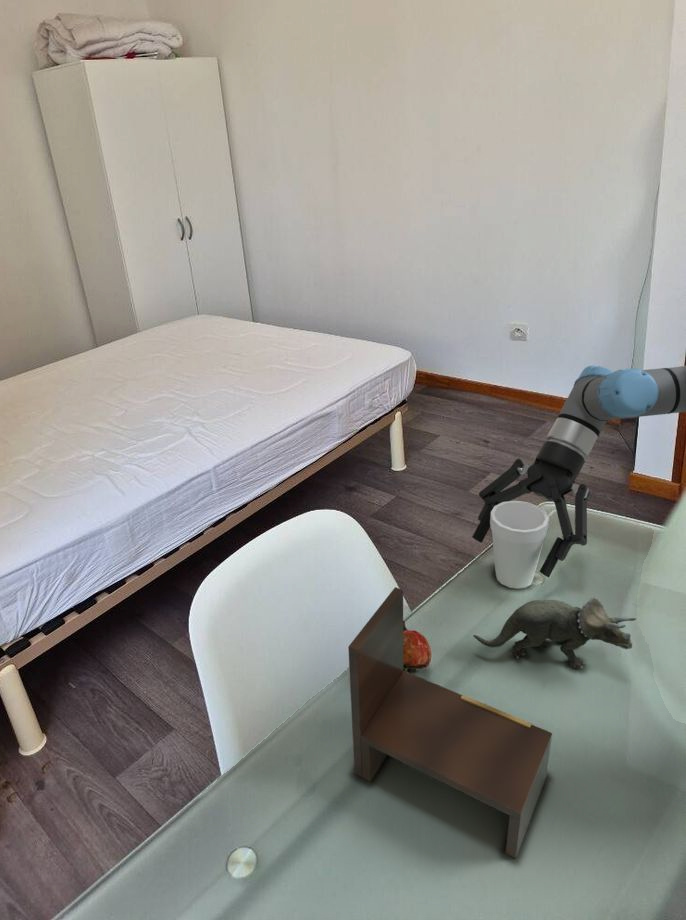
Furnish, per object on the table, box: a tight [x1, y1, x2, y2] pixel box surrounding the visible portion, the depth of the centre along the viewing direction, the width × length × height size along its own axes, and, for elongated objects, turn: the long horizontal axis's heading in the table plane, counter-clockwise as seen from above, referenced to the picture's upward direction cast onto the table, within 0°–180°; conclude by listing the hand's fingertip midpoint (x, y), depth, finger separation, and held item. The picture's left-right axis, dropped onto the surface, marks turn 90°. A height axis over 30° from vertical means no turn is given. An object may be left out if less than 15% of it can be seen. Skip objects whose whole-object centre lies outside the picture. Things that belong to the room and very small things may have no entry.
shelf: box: [348, 586, 553, 860], centre depth 83 cm, size 21×12×22 cm, turn 57°
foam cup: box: [490, 500, 550, 590], centre depth 119 cm, size 10×9×13 cm
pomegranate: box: [403, 620, 432, 672], centre depth 103 cm, size 7×7×10 cm
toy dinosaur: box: [472, 596, 637, 669], centre depth 103 cm, size 22×8×11 cm, turn 73°
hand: (509, 556), depth 118 cm, fingers open, 13 cm apart
